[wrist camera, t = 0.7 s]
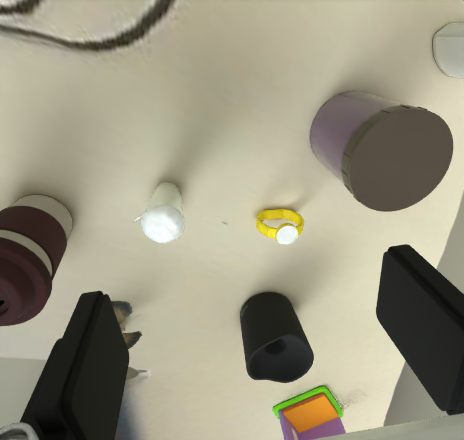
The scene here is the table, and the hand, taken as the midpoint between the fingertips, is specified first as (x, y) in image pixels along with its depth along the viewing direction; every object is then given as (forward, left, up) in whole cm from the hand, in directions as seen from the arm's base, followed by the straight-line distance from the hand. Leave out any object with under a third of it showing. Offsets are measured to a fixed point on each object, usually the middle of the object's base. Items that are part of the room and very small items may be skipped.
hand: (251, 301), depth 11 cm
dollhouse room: (+57, +27, -32) cm, 71 cm away
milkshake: (+10, -4, -32) cm, 34 cm away
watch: (+12, +11, -32) cm, 36 cm away
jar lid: (0, +18, -20) cm, 27 cm away
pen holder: (+30, +13, -32) cm, 46 cm away
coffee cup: (+15, -19, -32) cm, 40 cm away
